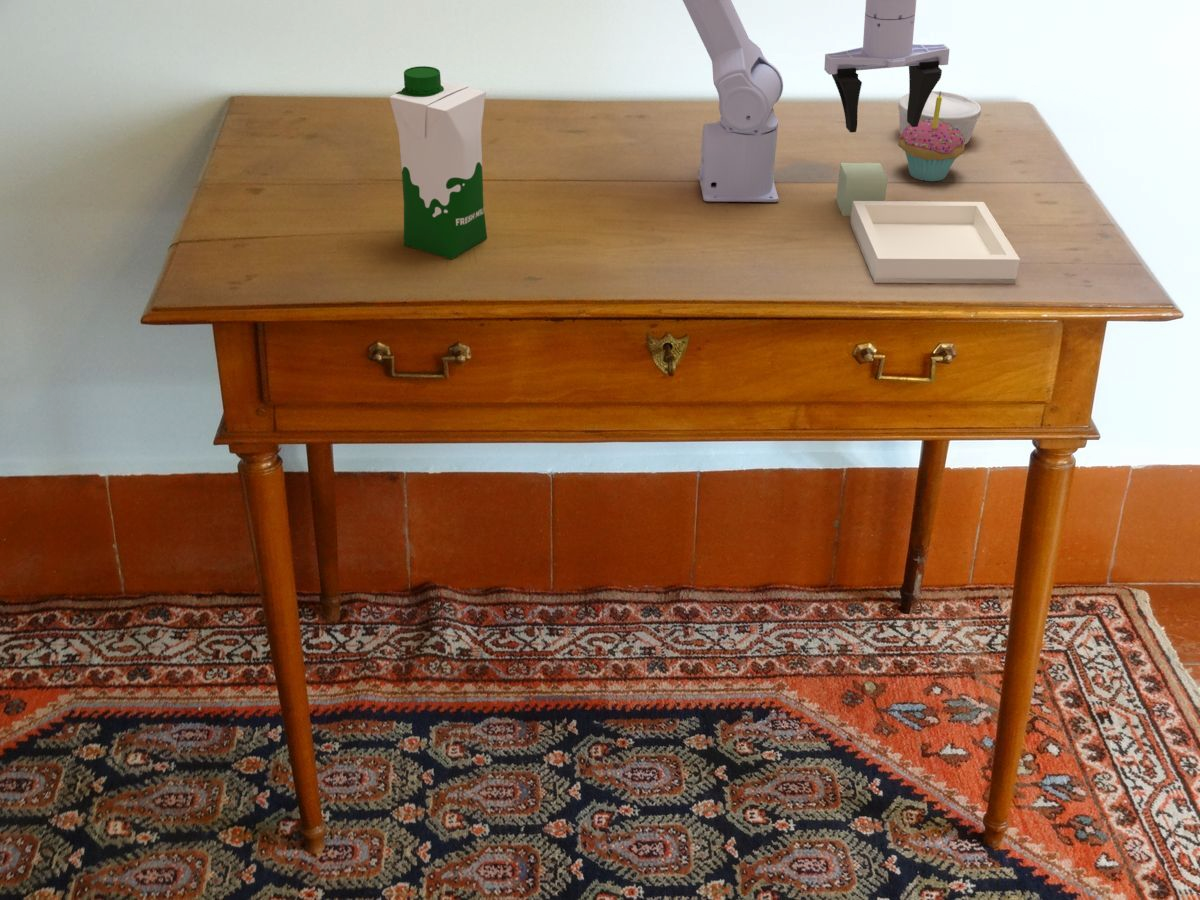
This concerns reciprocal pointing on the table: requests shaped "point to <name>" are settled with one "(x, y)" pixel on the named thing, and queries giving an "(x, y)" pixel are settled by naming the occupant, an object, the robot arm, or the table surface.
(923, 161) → the cupcake
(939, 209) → the cream bin
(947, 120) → the ramekin
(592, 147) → the table surface
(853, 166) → the sage block
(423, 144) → the milk carton
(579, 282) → the table surface
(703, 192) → the robot arm
